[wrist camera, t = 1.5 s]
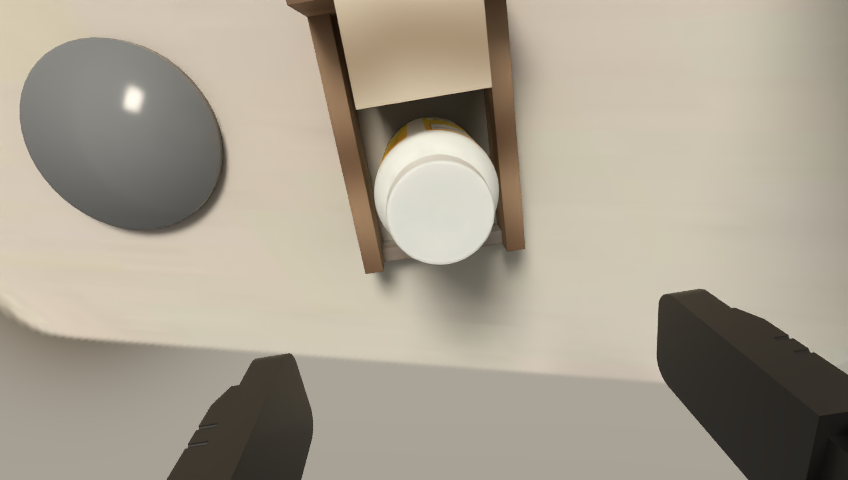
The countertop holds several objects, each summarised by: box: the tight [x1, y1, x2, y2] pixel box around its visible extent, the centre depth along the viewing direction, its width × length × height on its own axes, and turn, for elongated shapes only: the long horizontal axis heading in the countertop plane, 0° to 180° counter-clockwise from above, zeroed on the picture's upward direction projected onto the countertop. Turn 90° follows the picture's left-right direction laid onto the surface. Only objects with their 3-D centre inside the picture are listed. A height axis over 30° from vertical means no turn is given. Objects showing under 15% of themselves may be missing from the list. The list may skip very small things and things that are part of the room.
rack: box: [286, 0, 525, 274], centre depth 20 cm, size 14×9×8 cm, turn 9°
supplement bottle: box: [374, 117, 499, 265], centre depth 20 cm, size 5×5×10 cm
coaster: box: [20, 38, 223, 230], centre depth 23 cm, size 10×10×1 cm
